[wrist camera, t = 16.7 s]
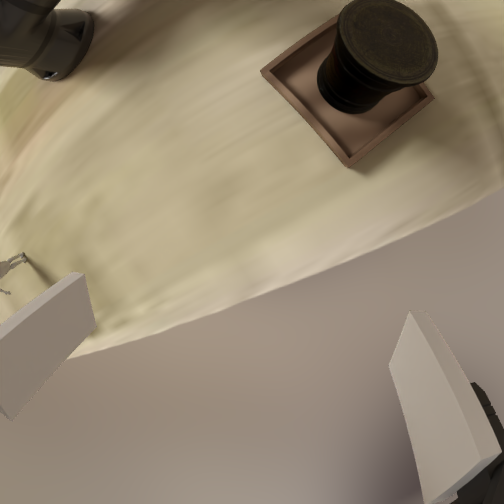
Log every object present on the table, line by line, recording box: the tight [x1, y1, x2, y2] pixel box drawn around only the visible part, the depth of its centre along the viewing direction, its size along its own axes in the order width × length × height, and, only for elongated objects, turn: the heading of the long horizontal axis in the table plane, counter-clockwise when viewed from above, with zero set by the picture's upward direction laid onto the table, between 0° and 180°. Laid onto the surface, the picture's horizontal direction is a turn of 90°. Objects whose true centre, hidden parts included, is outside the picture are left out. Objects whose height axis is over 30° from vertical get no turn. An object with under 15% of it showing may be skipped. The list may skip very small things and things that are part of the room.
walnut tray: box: [260, 14, 435, 168], centre depth 30 cm, size 17×17×3 cm
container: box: [317, 0, 438, 114], centre depth 23 cm, size 9×9×18 cm
